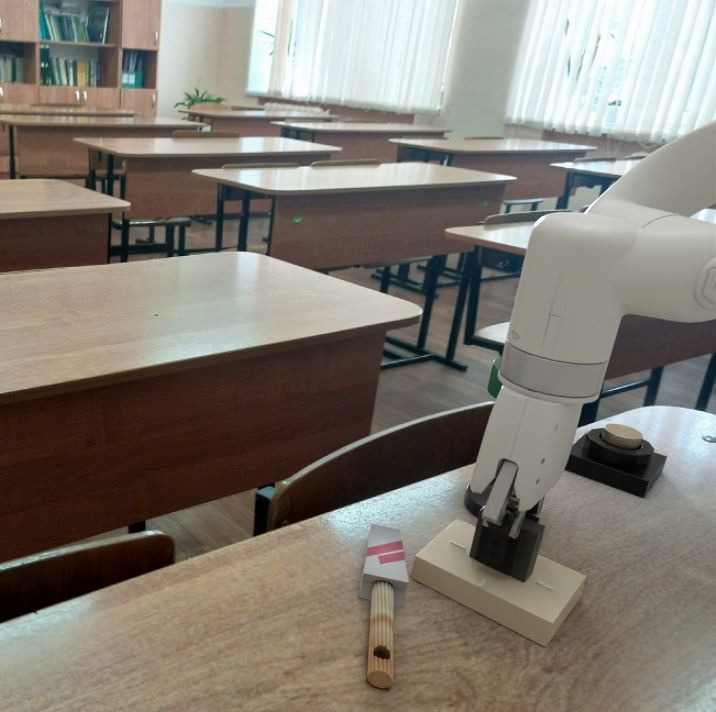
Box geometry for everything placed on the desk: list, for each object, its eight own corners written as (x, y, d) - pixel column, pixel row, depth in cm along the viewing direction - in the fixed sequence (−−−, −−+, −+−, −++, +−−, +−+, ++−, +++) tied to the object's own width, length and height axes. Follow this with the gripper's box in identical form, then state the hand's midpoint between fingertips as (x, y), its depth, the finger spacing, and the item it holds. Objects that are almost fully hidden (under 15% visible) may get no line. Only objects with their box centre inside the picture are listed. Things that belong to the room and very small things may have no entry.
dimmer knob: (532, 573, 65) (546, 523, 63) (524, 583, 64) (538, 532, 62) (477, 547, 68) (489, 499, 66) (468, 556, 67) (480, 507, 65)
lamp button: (642, 444, 88) (646, 431, 88) (633, 455, 85) (637, 441, 85) (605, 433, 91) (609, 420, 90) (596, 442, 88) (600, 429, 87)
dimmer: (580, 598, 66) (587, 573, 65) (545, 648, 60) (552, 622, 59) (452, 539, 74) (457, 516, 73) (409, 578, 68) (414, 554, 67)
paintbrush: (409, 518, 71) (408, 672, 54) (404, 541, 72) (401, 699, 55) (368, 510, 72) (354, 659, 55) (364, 532, 73) (349, 686, 56)
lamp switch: (662, 472, 90) (671, 443, 88) (643, 498, 83) (653, 467, 82) (583, 445, 95) (590, 417, 94) (560, 467, 89) (568, 438, 88)
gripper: (538, 335, 67) (495, 507, 74) (463, 379, 56) (420, 576, 63) (629, 359, 62) (575, 540, 69) (567, 412, 51) (509, 622, 58)
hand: (502, 555), depth 66 cm, fingers open, 3 cm apart
